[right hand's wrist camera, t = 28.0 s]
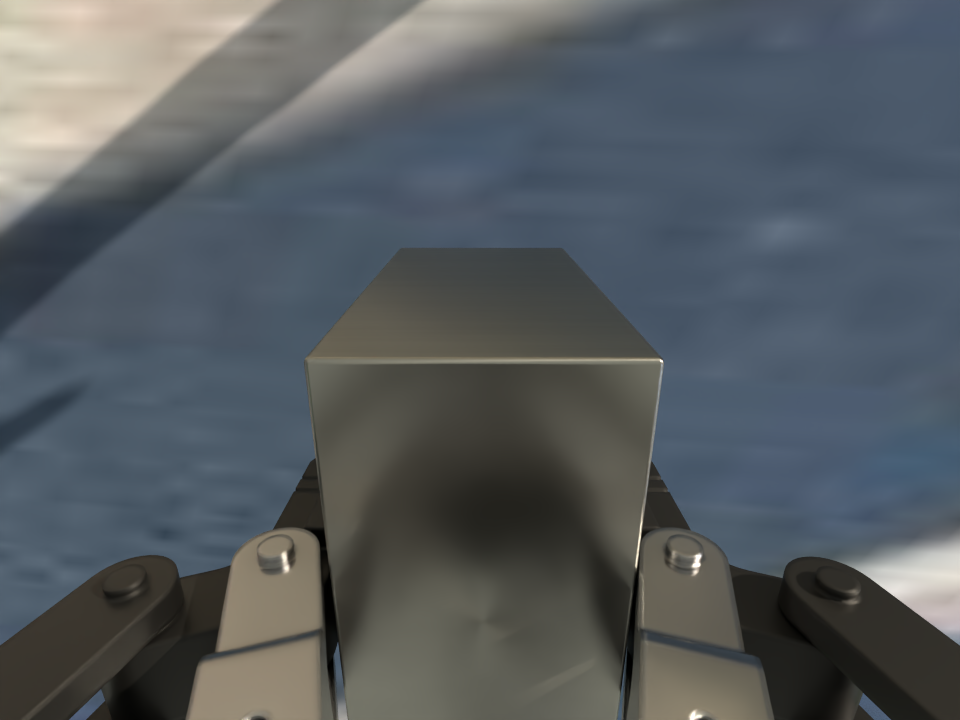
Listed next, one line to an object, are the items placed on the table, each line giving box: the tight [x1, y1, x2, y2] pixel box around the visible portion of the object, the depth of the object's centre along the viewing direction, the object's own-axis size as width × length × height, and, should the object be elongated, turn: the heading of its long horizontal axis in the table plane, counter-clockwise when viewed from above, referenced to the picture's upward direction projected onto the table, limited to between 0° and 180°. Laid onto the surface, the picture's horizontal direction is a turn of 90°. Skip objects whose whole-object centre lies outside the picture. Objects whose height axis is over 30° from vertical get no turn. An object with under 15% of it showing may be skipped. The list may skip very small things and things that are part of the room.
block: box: [304, 248, 664, 720], centre depth 12 cm, size 4×8×8 cm, turn 0°
